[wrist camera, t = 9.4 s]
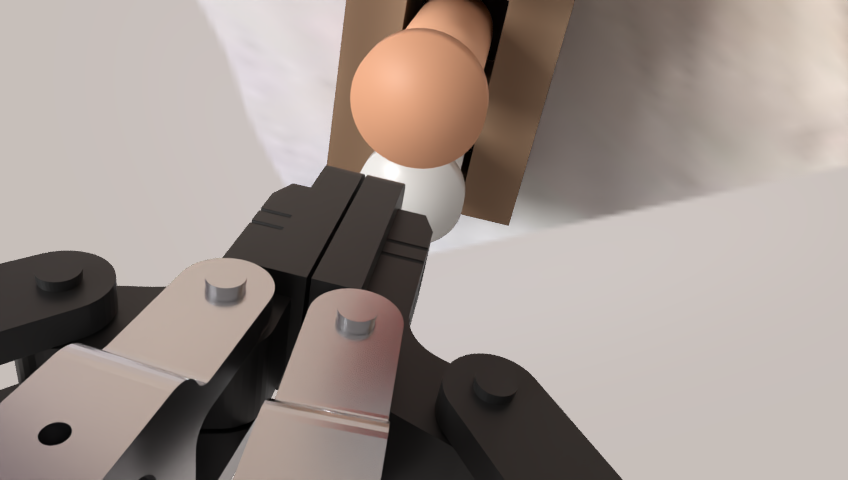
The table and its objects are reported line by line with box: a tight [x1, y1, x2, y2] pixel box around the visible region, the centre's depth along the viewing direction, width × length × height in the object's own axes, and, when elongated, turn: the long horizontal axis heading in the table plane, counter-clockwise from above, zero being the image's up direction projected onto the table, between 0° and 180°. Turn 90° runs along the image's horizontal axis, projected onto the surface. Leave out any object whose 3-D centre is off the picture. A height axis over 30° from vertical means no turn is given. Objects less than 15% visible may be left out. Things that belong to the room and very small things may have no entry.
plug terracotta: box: [350, 0, 493, 169], centre depth 22 cm, size 4×4×9 cm
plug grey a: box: [360, 151, 465, 242], centre depth 27 cm, size 4×4×9 cm
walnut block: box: [327, 0, 575, 226], centre depth 27 cm, size 8×14×5 cm, turn 169°
